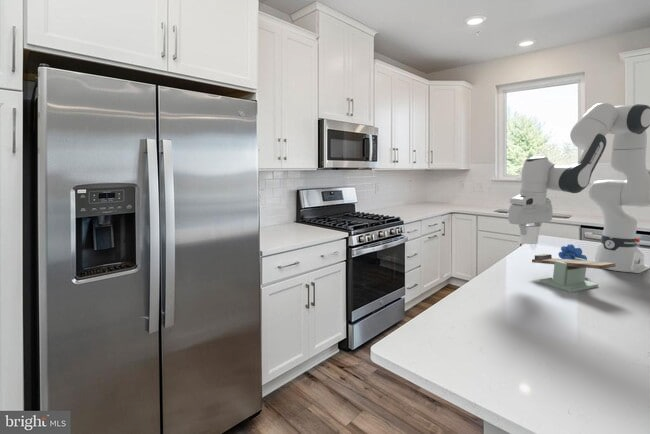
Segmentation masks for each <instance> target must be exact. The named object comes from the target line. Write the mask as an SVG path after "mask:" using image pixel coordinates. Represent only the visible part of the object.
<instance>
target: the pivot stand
mask: <svg viewBox="0 0 650 434" xmlns="http://www.w3.org/2000/svg"><path fill="white" fill-rule="evenodd" d="M575 260H582V261H588V259H587V260H584V259H580V258H575ZM553 267H554V268H553V274H552V277H547V278H542V279H539V283H542V284H544V285H546V286H550V287H553V288H556V289H559V290H562V291H565V292H567V293H568V292H569V293H574V292H575V293H576V292H579V291H584V290H587V289H595V288H598V287H599V283H595V282H592V281H589V280H586V272H587V268H585V267H575V266H571V267H567V263H564V262H560V261H555V264H553Z"/></svg>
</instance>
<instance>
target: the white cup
mask: <svg viewBox="0 0 650 434" xmlns="http://www.w3.org/2000/svg"><path fill="white" fill-rule="evenodd" d="M525 228H526V235H521V230H520V229H519V232H520V243H521V244H525V245H536V244H538V243H539V242H538V241H539V237H540V236H539V235H540V228H541V227H540V226H539V225H535V224H534V223H529V224H526V226H525Z"/></svg>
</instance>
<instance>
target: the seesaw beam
mask: <svg viewBox="0 0 650 434" xmlns="http://www.w3.org/2000/svg"><path fill="white" fill-rule="evenodd" d="M555 261H560V262H564V263H567V267H571V266H575V267H585V268H586V269H595V270H596V269H598V270H606V269H605V268H610V267H616V266H615V263H607V262H594V261H592V260H587V261H582V260H570V259H561V258H555V257H553V256H552V254H550V253H549V254H548V253H543V254H542V253H541V254H536V255H534V258H532V259H531V263H533V264H544V265H545V264H546V265H554V264H555Z"/></svg>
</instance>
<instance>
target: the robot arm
mask: <svg viewBox="0 0 650 434" xmlns="http://www.w3.org/2000/svg"><path fill="white" fill-rule="evenodd" d="M649 127H650V106H649V105H647V104H639V103H637V104H620V105H615V106H614V105H613V104H611V103H609V102H600V103H596V104H594V105H593V106H591V108H589V109H588V110H587V111H586V112H584V114H583V115H582V116H580V118H579V120H577V122H576V123H575V124H574V126H573V127H572V128H571V131H570V135H569V136H570V140H571V142H572V144H574V146H576V147H577V148H579V149H580V150H583V152H582V154H581V156H580V157H579V159H578V161H577V162H575V163H573V164H571V165H560V164H559V165H557V164H555V163H552V162H551V161H550V160H549V157H548V156H544V155H541V156H532V157H527V159H525V161H524V163H523V167H522V171H521V179H520V180H521V187H520V190H519V191H520V193H518V194H516V195H515V196H512V197H511V198H510V199H509V204H511V205H510V206H509V209H508V217H507V218H508V219H507V220H508V222H509V224H511V225H518V227H519V231H520V230H521V235H526V228H525V226H526V224H533V225H539V226H540V228H541V227H542V223H548V222H551V221H552V220H553V213H554V211H553V204H552V200H551V199H550V198H549V197H548V198H547V193H548V190H549V191H558V192H565V193H571V194H578V193H580V192H582V191H583V190H585V189H586V188H587V187H588V185H589V183H590V181H591V178H592V174H593V172H594V171H595V169H596V166H597V165H598V163H599V162H600V159H601V157H602V155H603V154H604V152H605V149H606V147H607V138H606V135H611V134H612V135H614V136H613V139H612V146H611V157H610V158H611V159H610V165H611V168H612V169H613V170H615V171H616V172H619V173H621V174H623V175H624V176H625V178H626V179H602V180H595V181H593V183H592V184H591V185H590V186H589V188H588V196H589V198H590V200H591V201H592V202H593V203H595V204H596V205H597V206H598V207H599V209H600V210H601V212H602V215H603V231H602V234H601V237H600V242H601V243H600V244H599V245H597V248H596V253H595V256H594V259H591V261H594V262H607V263H615V266H616V267H610V268H605V269H604V270H611V271H616V272H625V273H635V274H641V273H643V272H645V271H647V270H649V269H650V265H648V264H646V263H644V262H645V254H644V253H643V252H642V251H641V250H640V249H639V248H638V247H637V246H638V244H639V243H640V242H641V238H640V237H636V235H637V228H638V221H637V219H636V218H635V217H634V216H633V215H632V214H630V213H627V212H625V211H624V210H623V206H624V207H625V206H626V207H637V208H644V207H645V208H646V207H650V174H649V171H648V169H647V165H646V164H647V163H646V162H647V161H646V160H647V159H646V157H647V155H646V153H647V143H648V142H647V141H648V140H647V136H648V135H647V134H648V133H647V129H649ZM521 235H520V236H521Z"/></svg>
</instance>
